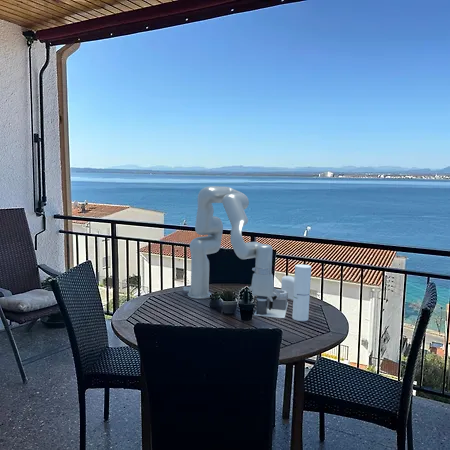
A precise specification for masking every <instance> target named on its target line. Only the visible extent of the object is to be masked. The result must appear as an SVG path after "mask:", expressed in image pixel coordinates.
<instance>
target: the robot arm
mask: <svg viewBox="0 0 450 450" xmlns="http://www.w3.org/2000/svg"><path fill="white" fill-rule="evenodd" d="M213 204H222V206H223V209H224V210H225V213H226V215H227V218H228V220H229V223H230V224H231V225H230V226H231V229H230V239H229V240H230V244H231V247H232V249H233V251H234V253H235V255H236V256H237V257H238V258H239V259H240V260H247V259H248V260H249V259H255V264H254V265H255V267H252V269H251V270H252V271H253V272H254V273H252V278H251V285H250V286H249V287H248V288H249V289H250V290H249V291H250V292H251V291H252V294H253V296H254V303H255V304H256V302H255V301H256V298H255V297H257V296H265V297H269V299H270V302H269V310H271V308H273V301H274V300H275V299H276V298H277V297H278V296H279V295H280V292H279V291H277V290H276V289H277V288H275V287H274V285H275V284H274V282H275V281H274V275H273V273H272V267H273V246H272V245H271V244H267V243H264V244H263V243H261V242H258V241H250V242H249V241H248V242H245V239H244V237H243V234H242V233H243V231H242V230H243V228H244V227H245V226H246V225H247V224H248V222H249V218H248V216H247V214H246V212H245V210H246V209H247V208H248V207H249V205H250V200H249V197H248V196H247V195H246V194H244V193H243V192H241V191H239V190H237V189H235V188H232V187H229V186H217V185H212V186H211V185H209V186H205V187H203V188H201V189H200V190H199V191H198V195H197V211H196V217H195V224H194V225H195V226H194V229H195V232H196V234H198V235H199V237H198V236H197V237H195V238H193V239H192V240H191V241H190V243H189V251H190V257H191V258H190V259H191V260H190V261H191V264H190V265H191V267H190V268H191V269H190V271H191V272H190V286H183V288H182V289H183V292H188V293H187V297H189V298H191V299H198V300H204V299H205V300H206V299H209V298H211V297H210V295H211V296H212V293H211V292H210V291H209V285H210V260H209V258H208V256H207V255H211V254H215V253H217V252H219V250H220V249H221V245H222V239H223V238H222V237H223V231H224V230H223V229H224V223H223V221H222V219H221V218H220V217H218V216H214V205H213ZM273 292H275V293H276V295H275V296H274V297H273V296H272V295H273ZM252 294H251V295H252Z"/></svg>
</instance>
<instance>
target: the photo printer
mask: <svg viewBox="0 0 450 450" xmlns="http://www.w3.org/2000/svg"><path fill="white" fill-rule="evenodd" d="M294 277H295V276H291V275H284V276H282V278H281V289H280V290H285V291H286V292H287V293H288V300H291V301H293V296H294Z"/></svg>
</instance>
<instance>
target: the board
mask: <svg viewBox="0 0 450 450" xmlns="http://www.w3.org/2000/svg"><path fill="white" fill-rule="evenodd" d="M288 307H289V301H287V306H286V310H278V309H271V310H269V309H268V308H267V314H265V315H260V314H257V313H256V311H254V313H253V315H254V316H259V317H269V318H279V319H285V317H286V314H287V309H288Z"/></svg>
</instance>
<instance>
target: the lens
mask: <svg viewBox="0 0 450 450" xmlns="http://www.w3.org/2000/svg"><path fill="white" fill-rule="evenodd" d="M267 300H268V297H265V296H256V303H255V304H256V305H255V306H256V307H255V312H256V313H257V314H260V315H265V314H267Z"/></svg>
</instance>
